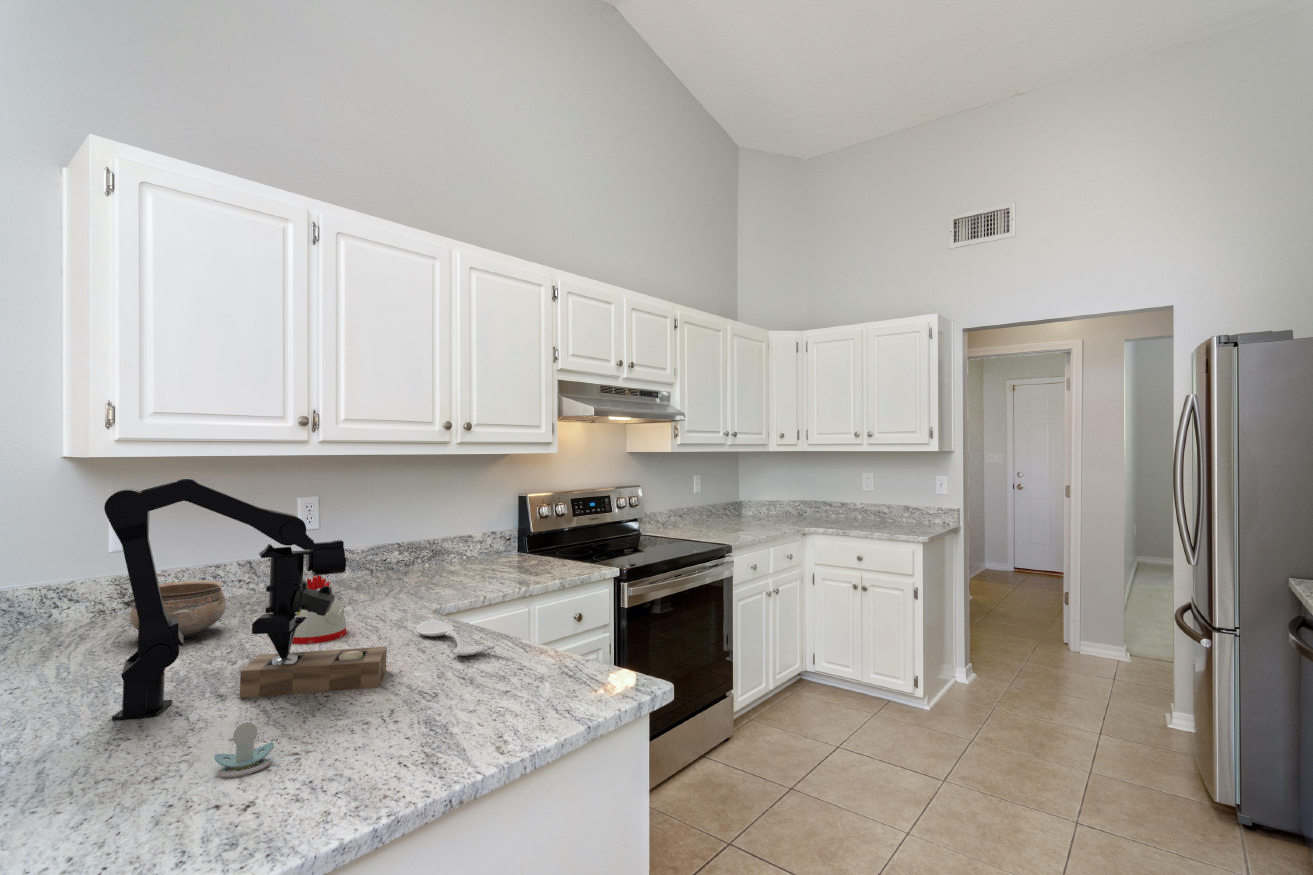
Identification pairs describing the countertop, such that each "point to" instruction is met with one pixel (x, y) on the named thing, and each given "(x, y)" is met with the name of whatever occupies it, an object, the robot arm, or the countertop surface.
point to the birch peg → (351, 655)
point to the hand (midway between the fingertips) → (284, 657)
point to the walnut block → (313, 673)
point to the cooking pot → (190, 605)
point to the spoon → (443, 628)
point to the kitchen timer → (320, 620)
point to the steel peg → (285, 660)
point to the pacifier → (244, 753)
